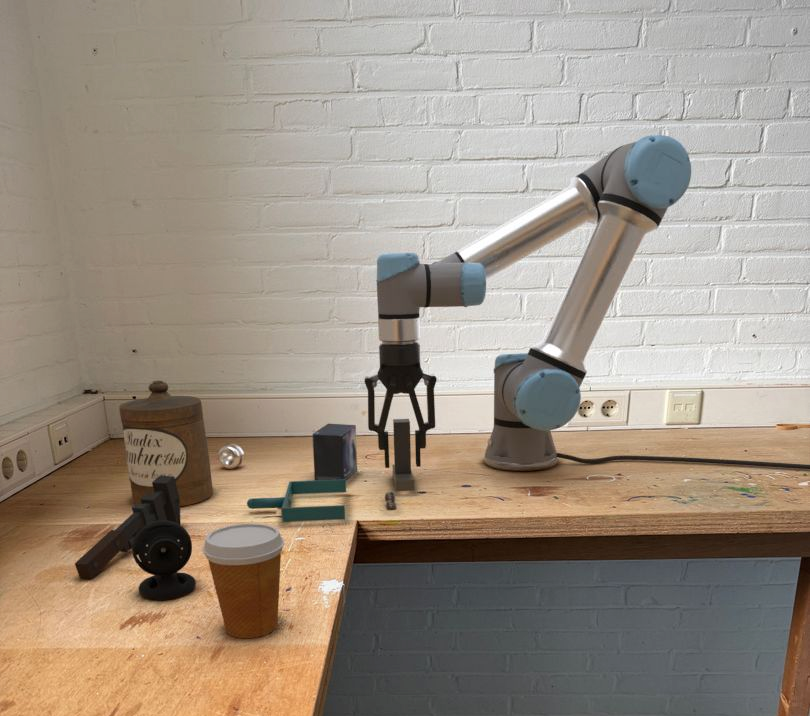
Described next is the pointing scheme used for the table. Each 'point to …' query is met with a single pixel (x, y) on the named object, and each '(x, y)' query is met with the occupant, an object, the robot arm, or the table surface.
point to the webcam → (163, 559)
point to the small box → (335, 452)
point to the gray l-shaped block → (402, 456)
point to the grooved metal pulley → (226, 456)
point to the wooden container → (166, 444)
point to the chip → (389, 496)
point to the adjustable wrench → (133, 526)
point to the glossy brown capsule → (390, 505)
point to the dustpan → (305, 512)
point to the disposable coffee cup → (246, 576)
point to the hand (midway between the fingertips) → (402, 465)
